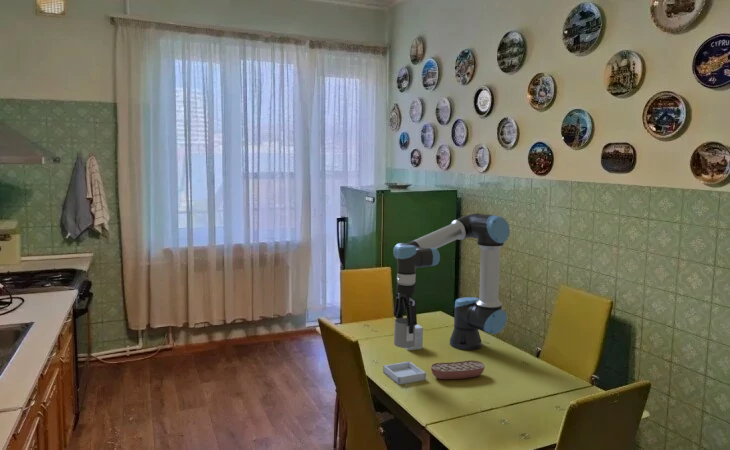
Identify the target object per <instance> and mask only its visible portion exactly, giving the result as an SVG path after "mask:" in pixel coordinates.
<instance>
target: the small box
mask: <svg viewBox="0 0 730 450" xmlns="http://www.w3.org/2000/svg"><path fill="white" fill-rule="evenodd" d="M423 341H424V327H422V326H421V325H420V324H418V323H417V325H415V345H414V346H413V347H410V348H404V349H405V350H406V351H415V350H423V349H424V348H423V344H424V342H423Z"/></svg>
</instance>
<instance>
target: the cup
mask: <svg viewBox="0 0 730 450" xmlns="http://www.w3.org/2000/svg"><path fill="white" fill-rule="evenodd" d="M407 325H408V321H407V317H403V318H398V319H396V318H395V319H394V332H393V333H394V335H393V336H394V338H393V345H394V346H395V347H397V348H401V349H405V348H410V347H413V346H414V345H415V325H414V330H413V341H406V335H407Z"/></svg>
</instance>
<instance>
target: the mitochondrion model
mask: <svg viewBox="0 0 730 450" xmlns="http://www.w3.org/2000/svg"><path fill="white" fill-rule="evenodd" d="M430 370H431V373H432V375H433V376H434V377H435V378H437V379H438V380H461V379H470V378H475V377H479V376H480V375H482V374H483V373H484V371H485V363H483V362H481V361H478V360H472V359H471V360H462V361H456V362H455V361H454V362H435V363H432V364H430Z"/></svg>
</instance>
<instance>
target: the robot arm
mask: <svg viewBox="0 0 730 450" xmlns="http://www.w3.org/2000/svg"><path fill="white" fill-rule="evenodd" d="M510 231H511V230H510V225H509V223H508V221H507V220H506V218H504V217H502V216H499V215H497V214H496V215H495V214H487V213H480V212H479V213H478V212H477V213H476V212H475V213H471V214H467V215H464V216H462V217H459V218H457V219H454V220H452V221H451V223H450V224H448V225H446V226H443V227H440V228H439V229H437V230H435V231H431V232H430V233H428V234H425V235H423V236H421V237H418V238H417V239H416V238H415V239H414V240H411V241H409V242H406V243H405V242H399V243H396V245H394V246H393V250H392V253H393V257H394V258H395V259H396V263H397V264H396V265H397V268H396V273H397V274H396V282H397V284H396V293H395V294H394V295H395V296H394V297H395V300H394V309H393V316H394V317H395V319H398V318H404V316H403V315H404V312H405V315H406V318H407V321H408V325H407V335H406V341H413V330H414V325H417V324H418V319H417V318H418V316H417V300H416V299H413V295H415V293H416V284H415V283H416V272H417V270H416V269H418V268H427V267H434V266H437V265H438V264H439V262H440V260H441V255H440V254H441V253H440V252H439V250H438V249H439V248H441V247H444V246H445V245H448V244H450V243H452V242H455V241H457V240H459V241H460V240H464V239H468V238H469V239H475V240H476V239H477V246H478V247H479V248H480V260H479V261H480V263H479V267H480V268H479V295H478V297H479V298H478V297H474V296H473V297H472V296H471V297H469V296H468V297H467V296H466V297H459V298H456V299H455V301H454V307H453V308H454V313H453V314H454V316H453V321H454V322H453V330H452V333H451V336H450V337H449V346H451V347H453V348H455V349H458V350H463V351H464V350H465V351H474V350H478V349H480V348H481V347H482V339H481V335H480V331H482V332H484V333H488V334H493V335H495V334H498V333H500V332H501V331H502V330H503V329H504V328H505V326H506V323H507V319H508V315H507V313H506V311H504V310H503V309H502V308H503V307H502V305H503V303H502V302H501V301H500V299H499V295H500V294H499V289H500V264H501V263H500V262H501V261H500V259H501V257H500V256H501V249H502V248H503V247H504V246H505V245H504V243H506V242H507V241H508V240H509V239H508V238H509V237H510V233H511V232H510Z"/></svg>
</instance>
